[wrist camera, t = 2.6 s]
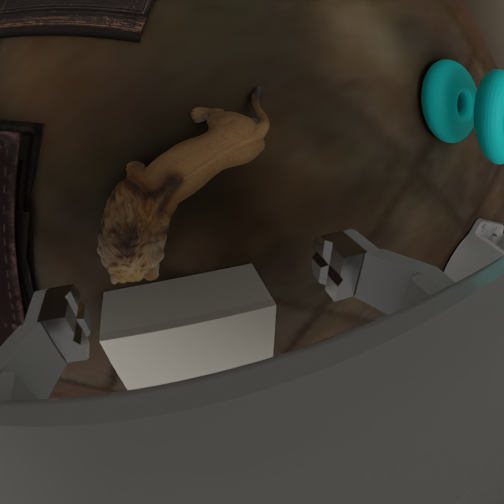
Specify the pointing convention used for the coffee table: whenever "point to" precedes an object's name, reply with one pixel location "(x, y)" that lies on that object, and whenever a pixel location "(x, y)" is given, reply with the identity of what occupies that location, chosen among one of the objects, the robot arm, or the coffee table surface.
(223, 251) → the coffee table surface
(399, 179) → the coffee table surface
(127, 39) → the hardcover book
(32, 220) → the coffee table surface
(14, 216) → the diary
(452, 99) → the donuts
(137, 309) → the pedestal
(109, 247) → the lion figurine
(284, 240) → the coffee table surface
